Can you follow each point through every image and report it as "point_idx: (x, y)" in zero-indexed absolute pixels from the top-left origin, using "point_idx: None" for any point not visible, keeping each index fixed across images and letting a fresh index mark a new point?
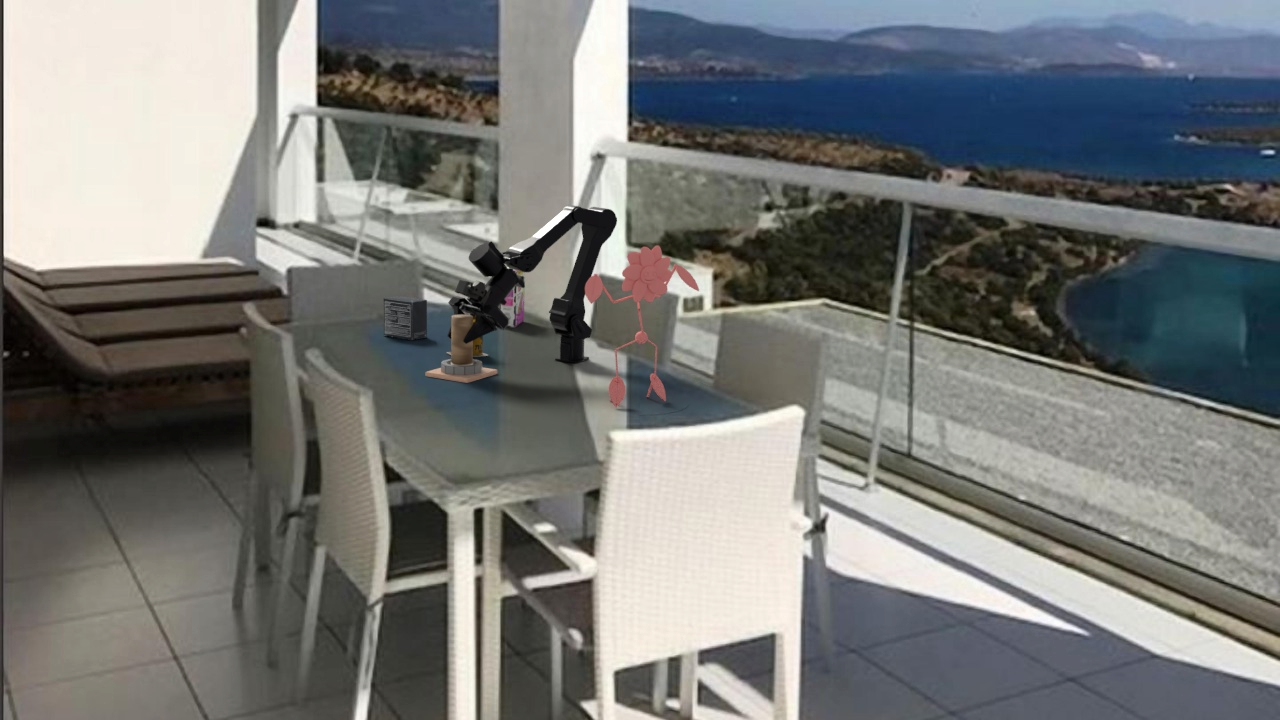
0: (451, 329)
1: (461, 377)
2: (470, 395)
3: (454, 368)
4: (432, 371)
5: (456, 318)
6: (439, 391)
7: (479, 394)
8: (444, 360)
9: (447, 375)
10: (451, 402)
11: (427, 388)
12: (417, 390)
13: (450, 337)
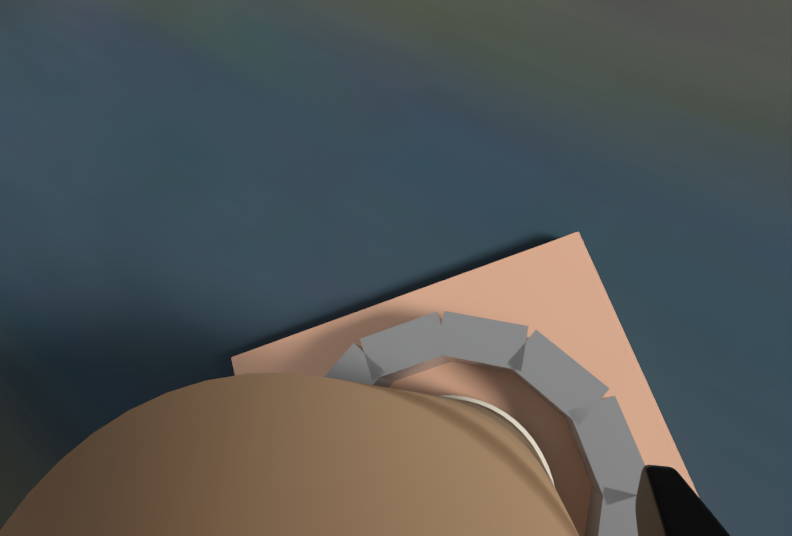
0: (480, 419)
1: (281, 346)
2: (33, 208)
3: (356, 344)
4: (563, 281)
5: (165, 401)
6: (193, 120)
7: (15, 257)
8: (619, 419)
9: (388, 301)
10: (8, 69)
11: (284, 99)
12: (281, 38)
13: (636, 502)
